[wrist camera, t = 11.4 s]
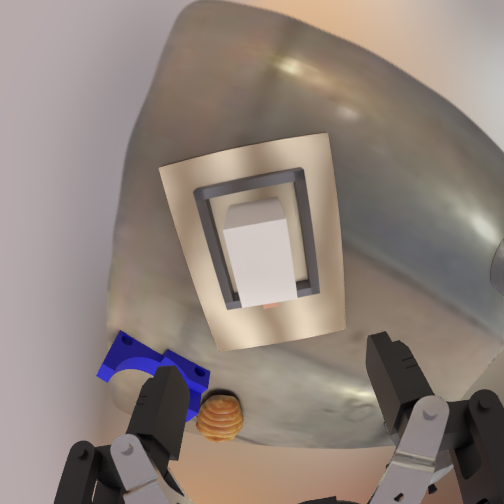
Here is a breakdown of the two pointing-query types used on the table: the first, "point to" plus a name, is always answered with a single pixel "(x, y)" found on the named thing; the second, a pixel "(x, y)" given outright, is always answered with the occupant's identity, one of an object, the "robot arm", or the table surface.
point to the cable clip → (154, 366)
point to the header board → (299, 229)
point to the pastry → (220, 418)
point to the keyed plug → (260, 252)
